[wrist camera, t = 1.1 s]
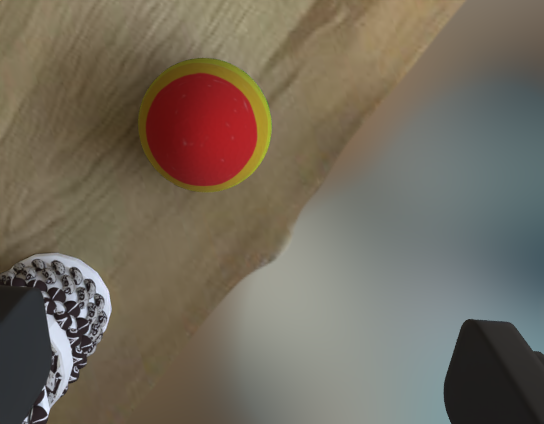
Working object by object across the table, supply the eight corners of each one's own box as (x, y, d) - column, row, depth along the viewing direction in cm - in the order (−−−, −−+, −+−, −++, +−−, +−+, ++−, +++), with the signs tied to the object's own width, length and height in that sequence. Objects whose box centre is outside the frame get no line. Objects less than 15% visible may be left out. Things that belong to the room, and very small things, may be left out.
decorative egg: (130, 98, 32) (80, 99, 22) (232, 40, 31) (227, 15, 22) (190, 199, 34) (169, 239, 24) (288, 145, 33) (306, 165, 24)
